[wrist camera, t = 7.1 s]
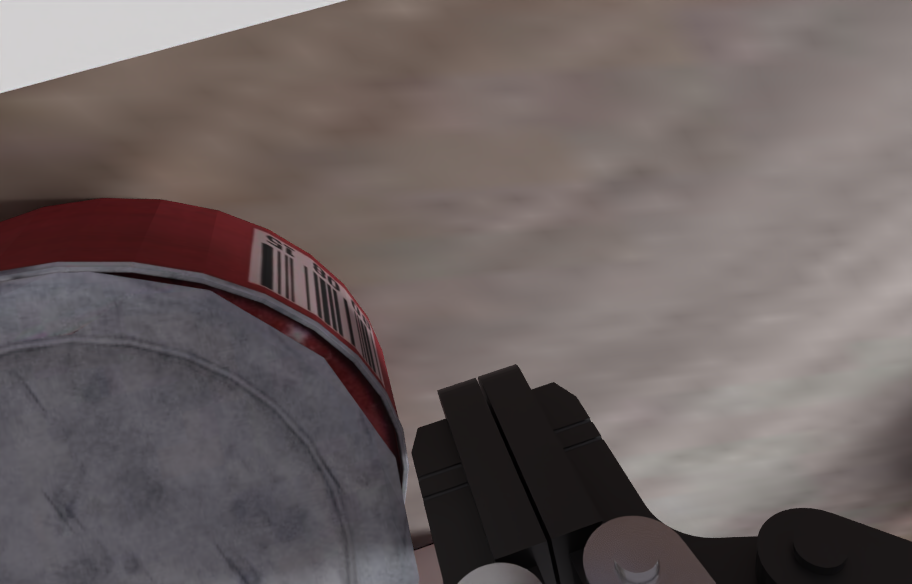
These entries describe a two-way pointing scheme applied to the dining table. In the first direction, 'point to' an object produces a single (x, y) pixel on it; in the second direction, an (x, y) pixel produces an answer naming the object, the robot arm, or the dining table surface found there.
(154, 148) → the dining table surface
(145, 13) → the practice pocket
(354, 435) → the canned food
